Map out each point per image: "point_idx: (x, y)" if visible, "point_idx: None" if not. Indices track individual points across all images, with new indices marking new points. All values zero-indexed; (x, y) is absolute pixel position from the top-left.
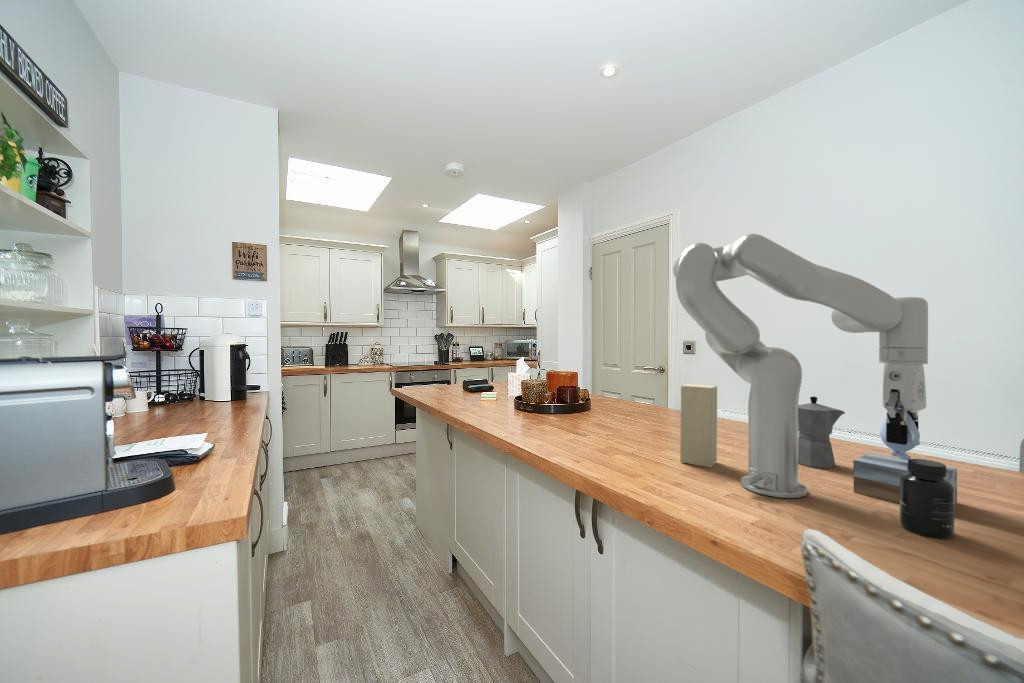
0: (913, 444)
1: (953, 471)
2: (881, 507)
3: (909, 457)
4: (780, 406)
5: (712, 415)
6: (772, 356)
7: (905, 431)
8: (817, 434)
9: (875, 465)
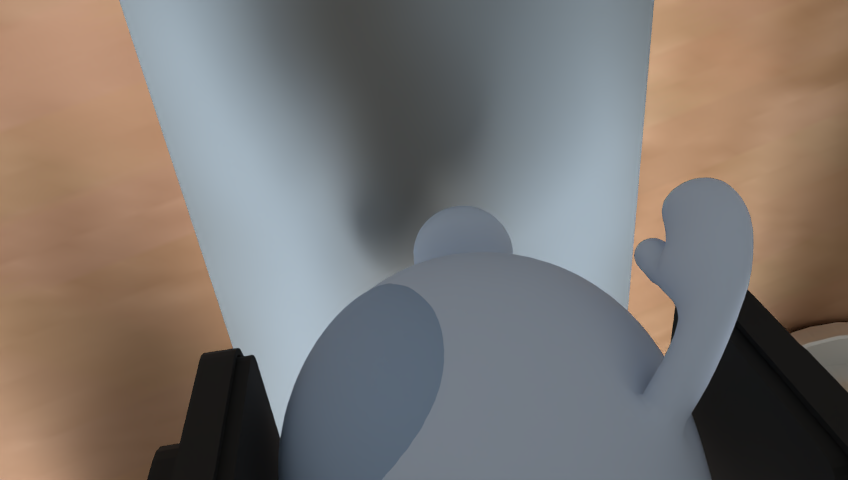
0: (539, 262)
1: None
2: (707, 96)
3: (478, 214)
4: None
5: None
6: None
7: (831, 394)
8: None
9: (625, 299)
